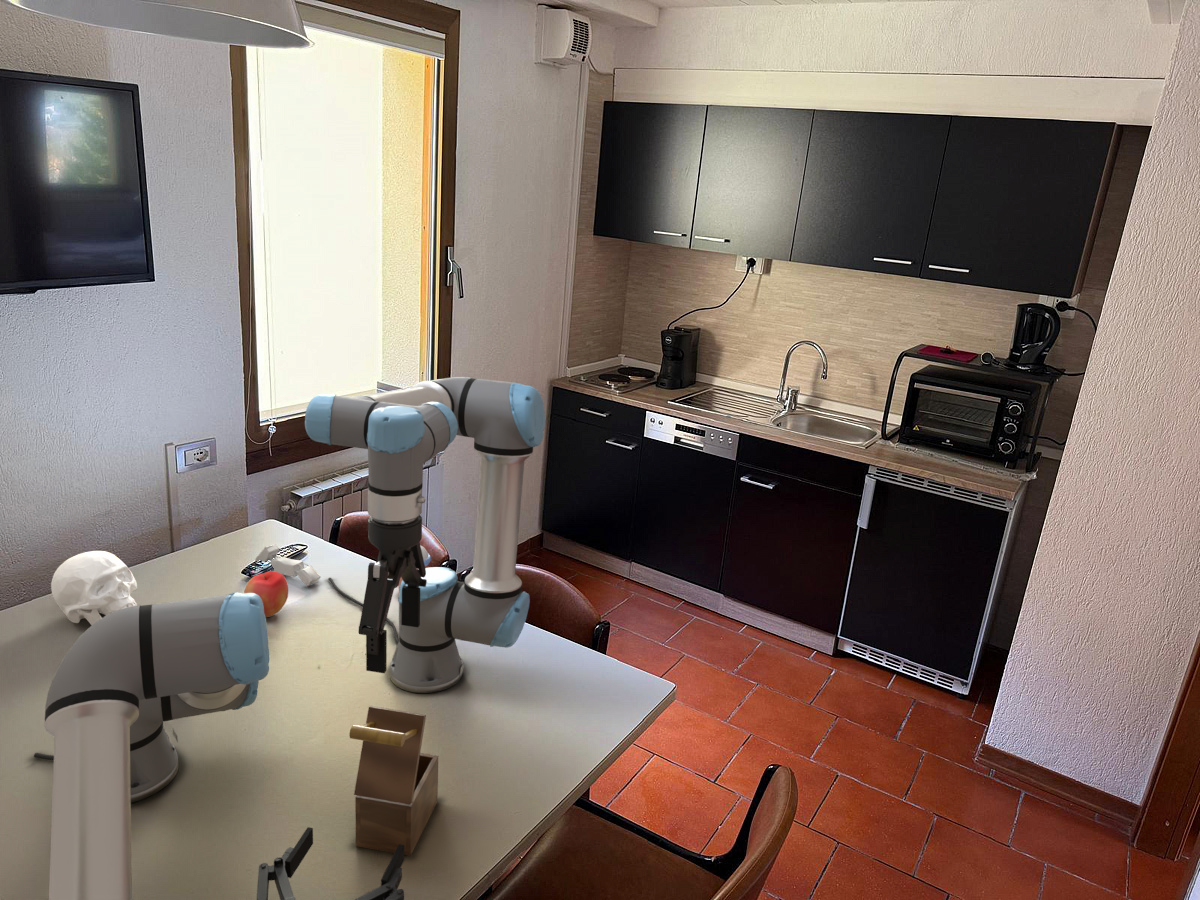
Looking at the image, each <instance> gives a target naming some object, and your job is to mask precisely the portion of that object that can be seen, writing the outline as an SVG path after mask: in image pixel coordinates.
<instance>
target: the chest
mask: <svg viewBox="0 0 1200 900" xmlns="http://www.w3.org/2000/svg"><path fill="white" fill-rule="evenodd" d="M438 787H439V755H436V754H431V753H424V752H420V758H419V764H418V770H417V776H416V783H415V789H414V795H413V802H412V803H411V804H410V805H409V804H404V803H398V802H392V801H386V800H381V799H375V798H369V797H364V796H358V795H355V796H354V797H355V800H354V802H355V805H354V806H355V847H359V848H365V849H369V850H370V849H371V850H376V851H381V852H385V853H392V854H394V853H395V851H396V849H397V848H398V846H399V844H401V845H404V856H408V857H411V856H412V854H413V852H414V850H415V848H416V846H417V844H418V842H419V840H420V838H421V835H422V834H423V832H424V829H425V828H426V825H427V823H428V821H429V820H430V817H431V815H432V813H433V811H434V810H435V807H436V805H437V803H438V795H439V794H438V793H439V790H438V789H439V788H438Z"/></svg>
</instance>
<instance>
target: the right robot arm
mask: <svg viewBox="0 0 1200 900" xmlns="http://www.w3.org/2000/svg"><path fill="white" fill-rule="evenodd" d="M544 404H545V403H544V399H543V398H542V395H541V393H540V391H539V390H538V389H537V388H536V387H534V386H531V385H527V384H523V383H519V382H511V381H502V380H492V379H482V378H474V377H467V376H457V377H455V376H453V377H445V378H437V379H430V380H424V381H420V382H417V383H415V384H414V385H412V386H411V387H410V388H406V389H405V388H404V389H398V390H391V391H384V392H376V393H369V394H362V395H351V396H342V395H337V394H335V393H334V394H316V395H315V396H313V398H311V399H310V401H309V402H308V404H307V406H306V410H305V414H304V428H305V431H306V434H307V436H308V437H309V438H310V439H311V440H312V441H314V442H317V443H322V444H327V445H328V446H332V445H333V446H341V447H347V448H349V447H350V448H355V449H363V450H364V449H365V450H367V463H368V464H367V468H368V470H367V471H368V482H367V514H368V515H369V516H368V519H367V538H368V542H369V543H370V544H371V545H372V546H374V547H375V548H377V550H378V551H379V552H378V555H377V558H376V562H369V563H368V566H367V581H366V587H365V592H364V598H363V602H360V601H358V600H357V599H355V598H353V597H352V596H350V595H349V594H347V593H345V592H343V590H341V589H340V588H339V587H338V586H337V585H336V583H335V582H334V580H333V578H332V577H328V581H329V583H330V584H331V586H332V587H333V589H334V590H335V591H336V592H337V593H338V594H340V595H341V596H342V597H344V598H346V599H347V600H349V601H350V602H352V603H354V604H356V605H357V606H359V607H361V608H362V610H361V615H360V620H359V626H358V633H357V634H359V635H363V636H365V643H366V644H365V649H366V650H365V662H366V664H365V669H366V671H367V672H372V673H373V672H374V673H380V674H385V673H386V672H387V660H388V659H387V656H388V653H387V649H388V647H387V645H388V644H387V642H388V641H387V637H388V636H387V635H388V631H387V629H385V626H386V623H387V624H388V625H389V626H390V627H391V629H392V632H393V639H394V641H395V643H396V644H397V645H396V648H395V651H394V653H393V656H392V659H391V660H390V666H389V679H390V681H391V682H392V683H393V684H394V685H395V686H396V687H398V688H399V689H401V690H404V691H407V692H410V693H416V694H430V693H431V694H432V693H438V692H441V691H445V690H447V689H450V688H451V687H453V686H455V685H456V684H457V683H458V682H459V681H460V680H461V679H462V676H463V672H464V666H465V665H464V664H465V663H464V662H463V660H462V657H461V656H460V653H459V649H458V646H457V642H456V640H459V641H464V642H469V643H473V644H478V645H479V644H480V645H484V646H489V647H490V648H492V647H493V648H494V647H498V648H506V649H507V648H511V647H513V646H514V645H515V644H516V643H517V641H518V640H519V638H520V636H521V633H522V631H523V629H524V626H525V623H526V621H527V617H528V612H529V609H530V603H531V598H530V594H529V593H527V592H526V591H522V586H523V581H522V579H521V578H520V576H518V575H517V574H516V567H517V555H518V543H519V532H520V520H521V519H520V517H521V507H522V496H523V495H522V494H523V483H524V470H525V461H526V460H527V459H528V458H529V457H530V456H532V455H533V453H534V448H535V447H538V446H540V445H541V444H542V441H543V439H544V431H545V429H546V412H545V405H544ZM457 436H459V437H465V438H473V439H474V440H473V450H474V452H475V453H476V454H477V455H478V456H479V457H480V465H479V466H480V467H479V481H478V495H477V507H476V510H477V511H476V521H475V536H474V551H473V566H472V571H471V572H470V573H468V574H467V575H466V576H465V578H464V581H459V580H458V578H459V577H458V575H457V572H456V571H455V570H453V569H451V568H450V567H444V566H443V567H442V566H432V567H431V566H430V567H428V568H425V565H424V560H423V555H422V551H421V546H422V545H421V541H422V538H423V517H422V516H421V514H422V513H423V504H425V503H426V497H425V496H423V486H424V485H423V484H424V483H423V481H424V464H425V463H427V462H428V461H429V460H431V459H432V458H434V457H436V456H437V455H438V454H440V453H443V452H444V451H445V450H446V449H447V448H448V447H449V446H450V444H452V443H453V442H454V440H455V439H456V437H457ZM420 545H421V546H420ZM416 568H417V569H416ZM400 578H402V579H403V580H402V582H401V584H400V593H399V592H398V598H397V601H398V631H397V627H396V625H395V624H394V622H392V620H391V619H390V618H388V616H389V615H388V614H389V611H390V607H391V603H392V600H393V595H394V592H395V589H396V588H399V587H398V585H399V581H400Z"/></svg>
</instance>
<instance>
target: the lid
mask: <svg viewBox="0 0 1200 900" xmlns="http://www.w3.org/2000/svg"><path fill="white" fill-rule="evenodd" d="M426 718H427V714H425V713H418V712H412V711H405V710H400V709H393V708H387V707H380V706H374V705H370V706H368V710H367V715H366V721H365V723H364V724H363V725H357V724H352V725H351V727H350V730H349V739H352V740H358V741H362V744H361V750H360V756H359V763H358V768H357V774H356V780H355V787H354V793H353V795H354V796H356V795H358V796H364V797H369V798H375V799H381V800H386V801H392V802H398V803H404V804H409V805H410V804H411V803H412V802H413V795H414V789H415V783H416V776H417V770H418V764H419V758H420V753H421V751H422V744H423V739H424V738H423V737H424V732H425V727H426V725H425V724H426V720H427V719H426Z"/></svg>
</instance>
